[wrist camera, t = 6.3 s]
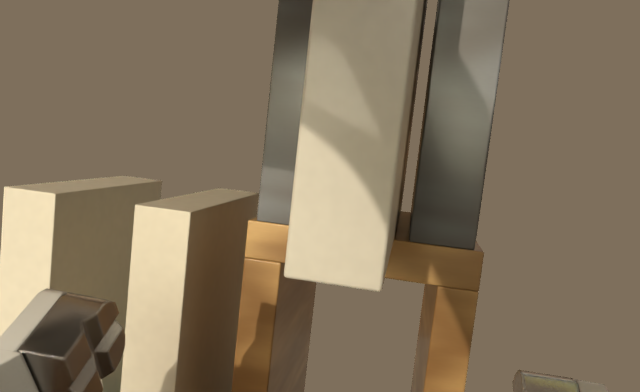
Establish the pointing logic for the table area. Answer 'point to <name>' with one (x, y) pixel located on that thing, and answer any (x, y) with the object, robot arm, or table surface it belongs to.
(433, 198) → the book stand
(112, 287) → the cream teal blocky piece
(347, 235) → the white book
